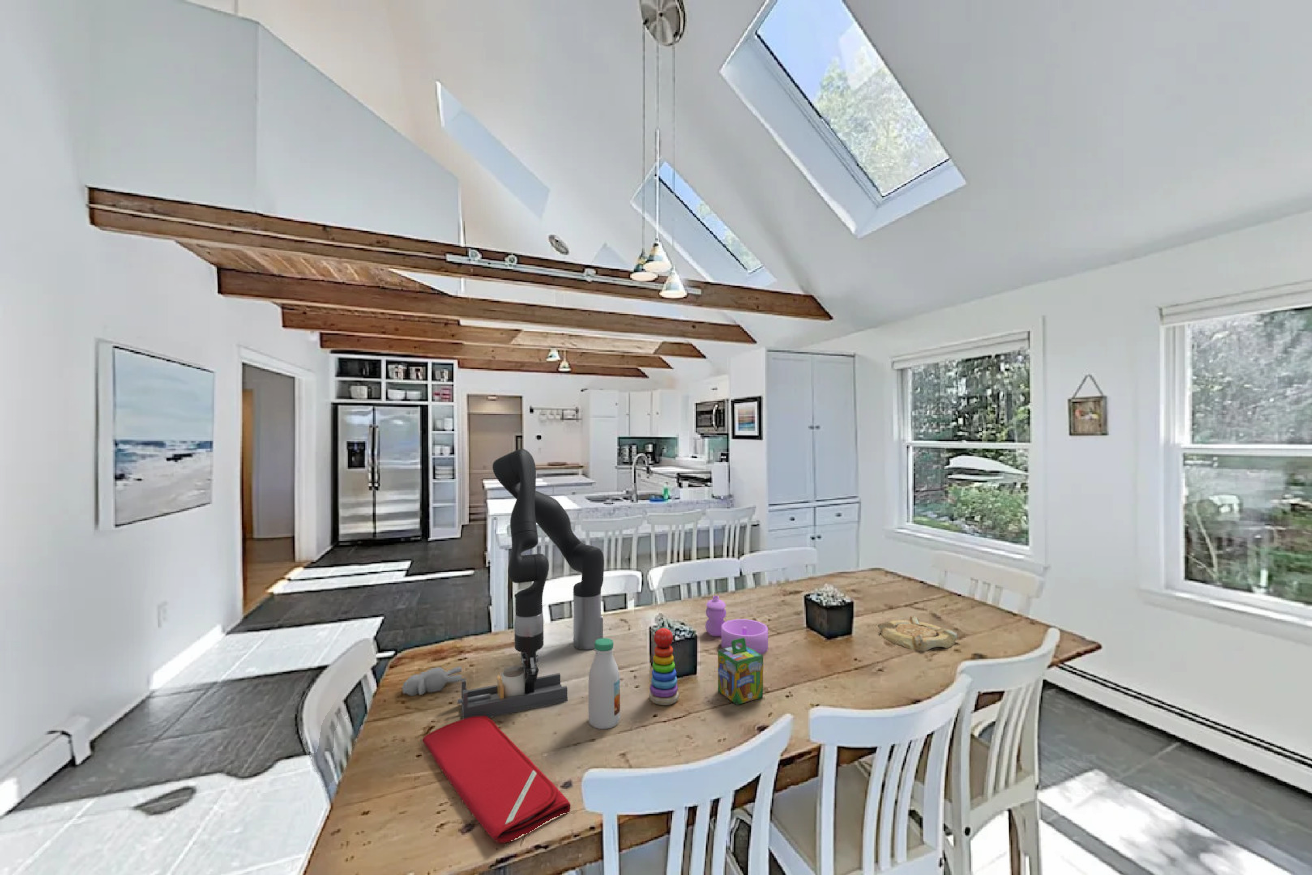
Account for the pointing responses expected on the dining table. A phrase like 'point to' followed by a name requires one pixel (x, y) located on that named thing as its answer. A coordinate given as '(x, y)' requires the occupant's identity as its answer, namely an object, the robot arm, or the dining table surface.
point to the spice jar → (513, 681)
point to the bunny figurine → (430, 681)
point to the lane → (514, 698)
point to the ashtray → (917, 634)
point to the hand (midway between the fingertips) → (529, 694)
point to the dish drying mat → (495, 778)
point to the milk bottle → (604, 687)
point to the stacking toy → (663, 670)
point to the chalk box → (740, 673)
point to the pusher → (488, 696)
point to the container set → (735, 628)
